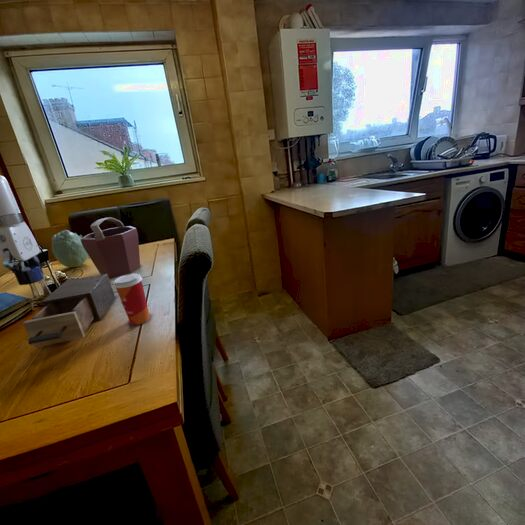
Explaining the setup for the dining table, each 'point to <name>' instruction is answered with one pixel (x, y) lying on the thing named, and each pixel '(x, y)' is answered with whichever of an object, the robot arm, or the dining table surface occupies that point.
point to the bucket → (113, 248)
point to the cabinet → (86, 292)
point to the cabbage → (69, 249)
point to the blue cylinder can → (35, 273)
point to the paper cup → (133, 298)
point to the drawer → (60, 321)
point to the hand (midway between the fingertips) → (32, 279)
